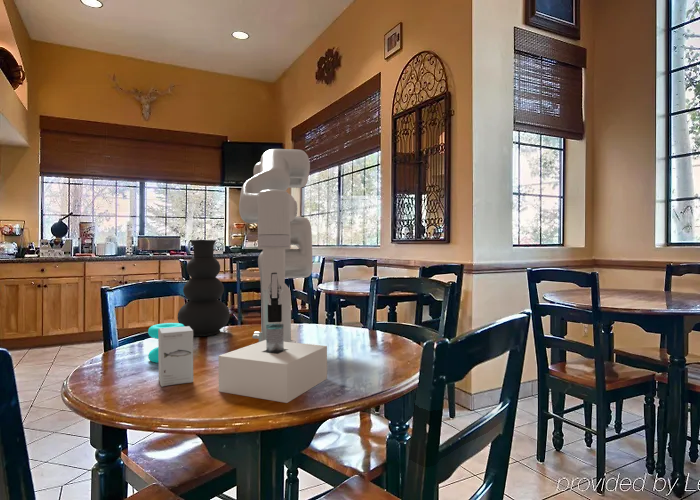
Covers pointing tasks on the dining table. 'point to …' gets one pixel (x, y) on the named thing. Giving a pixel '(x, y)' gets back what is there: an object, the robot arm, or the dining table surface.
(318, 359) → the block
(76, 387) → the dining table surface
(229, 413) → the dining table surface
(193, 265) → the vase
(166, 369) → the supplement box
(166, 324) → the donuts
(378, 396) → the dining table surface
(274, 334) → the peg
